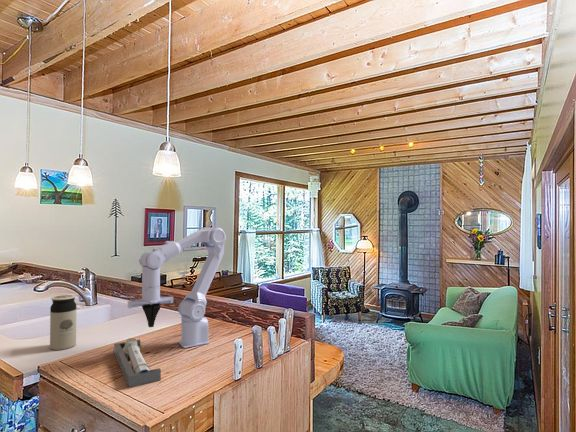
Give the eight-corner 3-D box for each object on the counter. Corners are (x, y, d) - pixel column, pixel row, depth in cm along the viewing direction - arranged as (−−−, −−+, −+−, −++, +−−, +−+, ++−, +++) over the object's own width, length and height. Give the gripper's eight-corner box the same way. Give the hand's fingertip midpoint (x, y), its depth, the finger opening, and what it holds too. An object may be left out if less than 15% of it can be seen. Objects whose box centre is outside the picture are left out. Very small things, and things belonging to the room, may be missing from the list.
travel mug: (50, 345, 130) (50, 296, 130) (75, 341, 134) (76, 293, 135) (49, 352, 123) (50, 300, 124) (76, 347, 128) (76, 297, 128)
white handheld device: (133, 371, 99) (121, 335, 120) (133, 394, 99) (120, 354, 120) (153, 367, 101) (138, 332, 122) (152, 389, 102) (137, 351, 123)
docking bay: (139, 347, 128) (139, 339, 128) (160, 380, 101) (160, 369, 102) (113, 352, 123) (113, 343, 123) (128, 387, 97) (128, 376, 97)
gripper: (130, 290, 115) (129, 333, 114) (175, 286, 122) (175, 325, 122) (126, 287, 120) (126, 327, 120) (170, 283, 128) (170, 321, 128)
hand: (150, 326), depth 122 cm, fingers closed
